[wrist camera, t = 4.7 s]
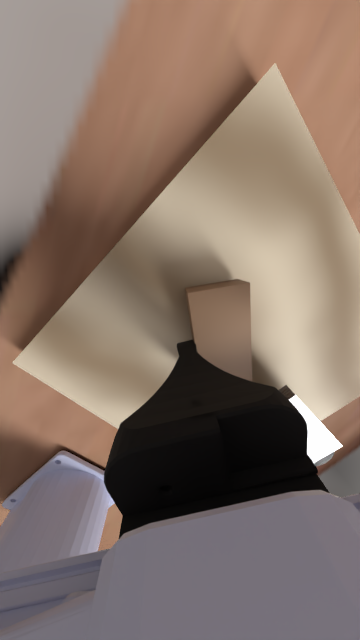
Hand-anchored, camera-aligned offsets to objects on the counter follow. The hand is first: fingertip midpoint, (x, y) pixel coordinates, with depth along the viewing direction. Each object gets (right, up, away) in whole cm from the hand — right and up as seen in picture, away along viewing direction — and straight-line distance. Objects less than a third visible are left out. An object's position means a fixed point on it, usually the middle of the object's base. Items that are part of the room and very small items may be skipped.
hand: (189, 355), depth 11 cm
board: (+3, 0, +2) cm, 4 cm away
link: (+2, -2, +1) cm, 3 cm away
